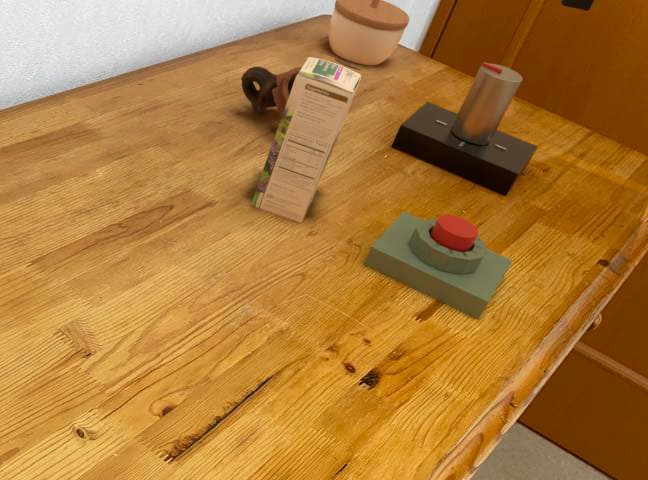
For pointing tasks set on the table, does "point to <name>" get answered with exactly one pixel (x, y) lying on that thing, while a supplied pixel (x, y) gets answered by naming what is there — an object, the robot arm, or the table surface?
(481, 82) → the knob
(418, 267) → the red push button box
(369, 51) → the trinket box
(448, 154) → the panel
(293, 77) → the pottery mug
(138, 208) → the table surface
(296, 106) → the syrup box
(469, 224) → the button
